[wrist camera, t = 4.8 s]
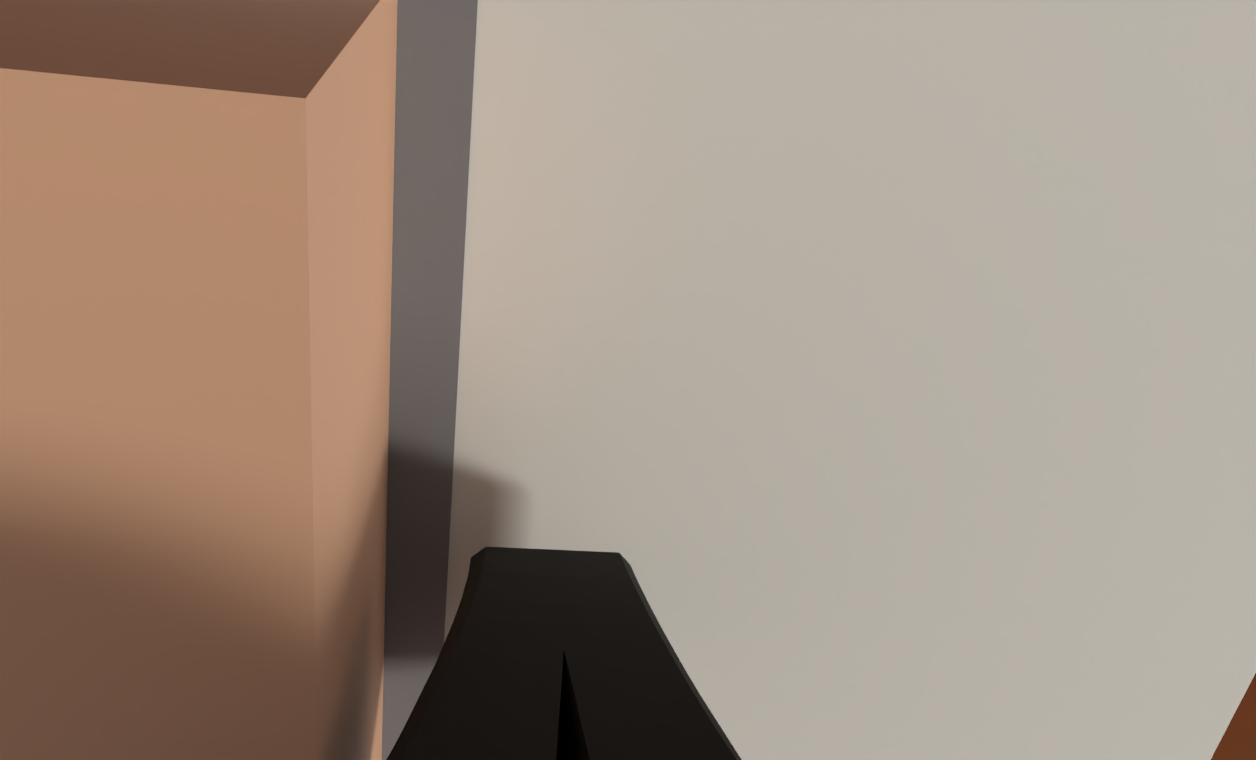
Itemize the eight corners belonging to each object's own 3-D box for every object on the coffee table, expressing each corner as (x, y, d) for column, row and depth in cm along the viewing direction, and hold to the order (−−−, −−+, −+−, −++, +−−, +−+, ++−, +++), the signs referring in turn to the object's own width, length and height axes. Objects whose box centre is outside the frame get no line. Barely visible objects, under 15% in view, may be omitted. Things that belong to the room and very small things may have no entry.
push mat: (1537, -11, 9) (1606, 1, 8) (1073, 936, 14) (1096, 982, 14) (-1609, -423, 6) (-1824, -446, 5) (-659, 948, 11) (-720, 1006, 11)
